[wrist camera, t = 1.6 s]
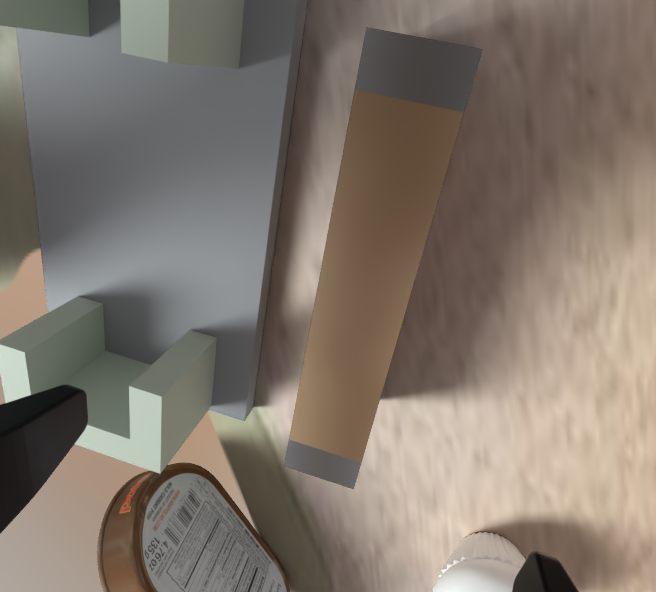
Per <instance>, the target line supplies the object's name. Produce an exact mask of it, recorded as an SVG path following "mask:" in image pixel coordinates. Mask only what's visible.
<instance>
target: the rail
mask: <svg viewBox="0 0 656 592" xmlns="http://www.w3.org/2000/svg"><path fill="white" fill-rule="evenodd" d="M481 53H482V49H479V48H474V47H468V46H463V45H458V44H453V43H447V42H442V41H437V40H431V39H426V38H421V37H415V36H410V35H405V34H399V33H394V32H389V31H384V30H378V29H373V28H368V27H367V28H366V33H365V38H364V44H363V49H362V54H361V60H360V65H359V70H358V75H357V81H356V86H355V91H354V97H353V102H352V107H351V113H350V118H349V123H348V129H347V134H346V139H345V145H344V150H343V155H342V160H341V166H340V171H339V176H338V182H337V187H336V192H335V198H334V203H333V208H332V214H331V219H330V224H329V230H328V235H327V240H326V246H325V251H324V256H323V261H322V267H321V272H320V277H319V283H318V288H317V293H316V299H315V304H314V309H313V315H312V320H311V325H310V331H309V336H308V341H307V347H306V352H305V357H304V362H303V368H302V373H301V378H300V384H299V389H298V394H297V400H296V405H295V410H294V416H293V421H292V426H291V432H290V437H289V442H288V448H287V453H286V458H285V463H284V466H285V467H288V468H291V469H294V470H297V471H300V472H303V473H306V474H309V475H312V476H315V477H318V478H321V479H324V480H327V481H330V482H333V483H336V484H339V485H342V486H345V487H348V488H351V489H354V486H355V483H356V479H357V476H358V472H359V469H360V466H361V462H362V459H363V455H364V452H365V448H366V445H367V442H368V438H369V435H370V431H371V428H372V425H373V421H374V418H375V414H376V411H377V408H378V404H379V401H380V397H381V394H382V390H383V387H384V384H385V380H386V377H387V373H388V370H389V367H390V363H391V360H392V356H393V353H394V349H395V346H396V343H397V339H398V336H399V332H400V329H401V326H402V322H403V319H404V315H405V312H406V309H407V305H408V302H409V298H410V295H411V291H412V288H413V285H414V281H415V278H416V274H417V271H418V268H419V264H420V261H421V257H422V254H423V251H424V247H425V244H426V240H427V237H428V233H429V230H430V227H431V223H432V220H433V216H434V213H435V210H436V206H437V203H438V199H439V196H440V192H441V189H442V186H443V182H444V179H445V175H446V172H447V169H448V165H449V162H450V158H451V155H452V152H453V148H454V145H455V141H456V138H457V134H458V131H459V128H460V124H461V121H462V117H463V114H464V111H465V107H466V104H467V100H468V97H469V94H470V90H471V87H472V83H473V80H474V76H475V73H476V70H477V66H478V63H479V59H480V56H481Z"/></svg>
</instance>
